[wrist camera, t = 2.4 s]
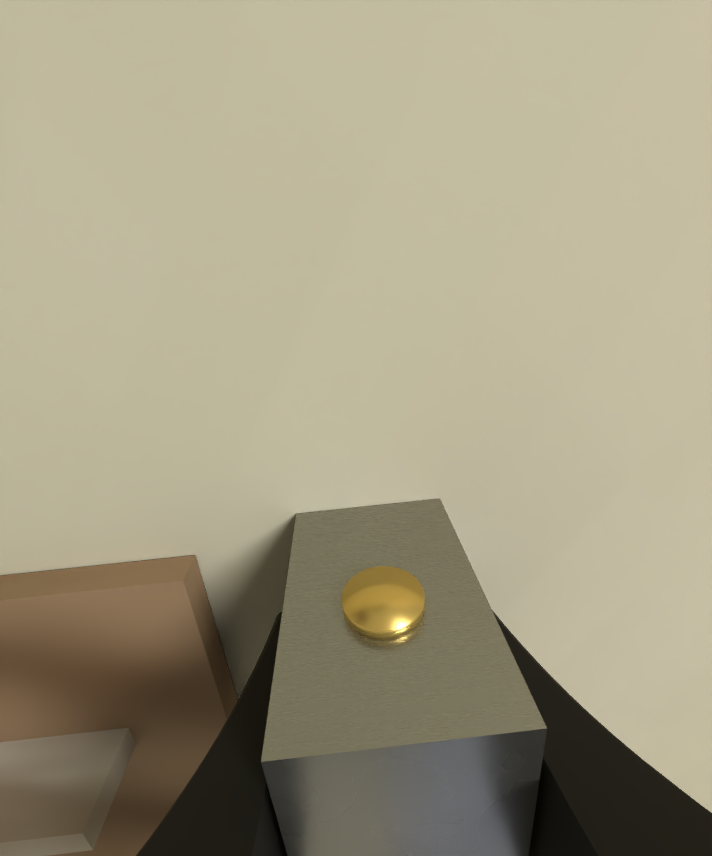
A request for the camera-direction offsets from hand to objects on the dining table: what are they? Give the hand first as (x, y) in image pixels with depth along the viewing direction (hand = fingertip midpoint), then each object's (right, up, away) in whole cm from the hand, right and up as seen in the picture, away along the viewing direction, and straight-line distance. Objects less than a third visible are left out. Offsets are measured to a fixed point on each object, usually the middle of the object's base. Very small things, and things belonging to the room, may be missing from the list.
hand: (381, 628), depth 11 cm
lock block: (0, +1, +1) cm, 1 cm away
